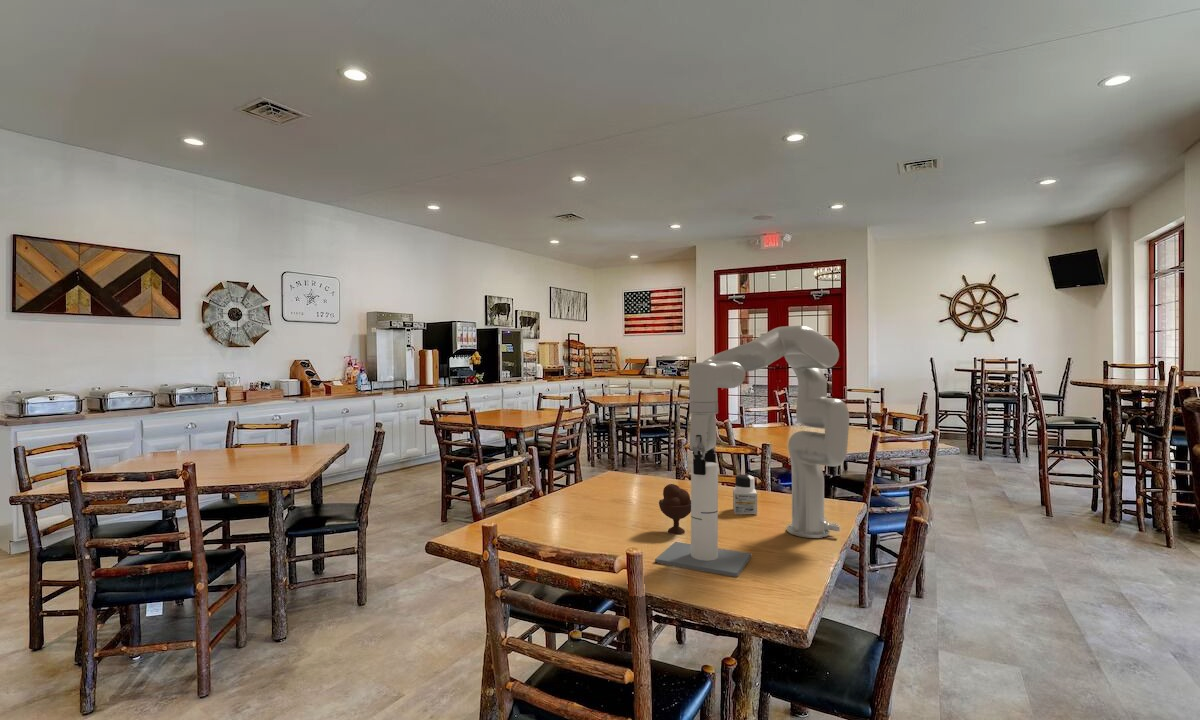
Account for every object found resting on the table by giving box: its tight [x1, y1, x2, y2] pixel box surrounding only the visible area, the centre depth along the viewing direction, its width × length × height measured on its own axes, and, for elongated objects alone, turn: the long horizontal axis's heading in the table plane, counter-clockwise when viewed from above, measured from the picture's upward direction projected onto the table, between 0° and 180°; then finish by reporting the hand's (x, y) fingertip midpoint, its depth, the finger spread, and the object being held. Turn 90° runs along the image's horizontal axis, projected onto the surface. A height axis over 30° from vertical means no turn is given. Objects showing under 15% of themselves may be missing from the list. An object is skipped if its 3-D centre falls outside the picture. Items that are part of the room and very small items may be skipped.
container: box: [732, 474, 758, 515], centre depth 200 cm, size 8×8×13 cm
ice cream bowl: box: [658, 483, 691, 536], centre depth 177 cm, size 11×11×15 cm
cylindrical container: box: [690, 462, 719, 561], centre depth 153 cm, size 7×7×25 cm
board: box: [654, 541, 752, 578], centre depth 153 cm, size 22×16×1 cm
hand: (705, 470), depth 153 cm, fingers open, 9 cm apart
